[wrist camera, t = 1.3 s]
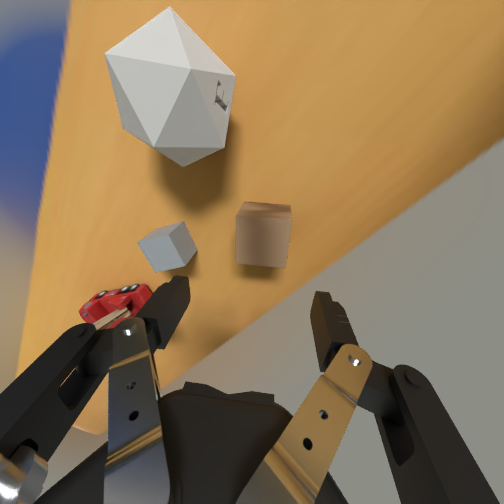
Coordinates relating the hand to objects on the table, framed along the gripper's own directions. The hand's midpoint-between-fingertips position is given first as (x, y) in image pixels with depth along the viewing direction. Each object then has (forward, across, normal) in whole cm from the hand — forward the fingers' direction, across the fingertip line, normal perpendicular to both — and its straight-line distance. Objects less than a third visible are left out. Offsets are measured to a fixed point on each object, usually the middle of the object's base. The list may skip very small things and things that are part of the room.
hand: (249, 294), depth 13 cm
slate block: (+12, +11, +3) cm, 17 cm away
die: (+12, +7, -11) cm, 18 cm away
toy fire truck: (+13, +19, +13) cm, 26 cm away
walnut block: (+12, 0, 0) cm, 12 cm away
